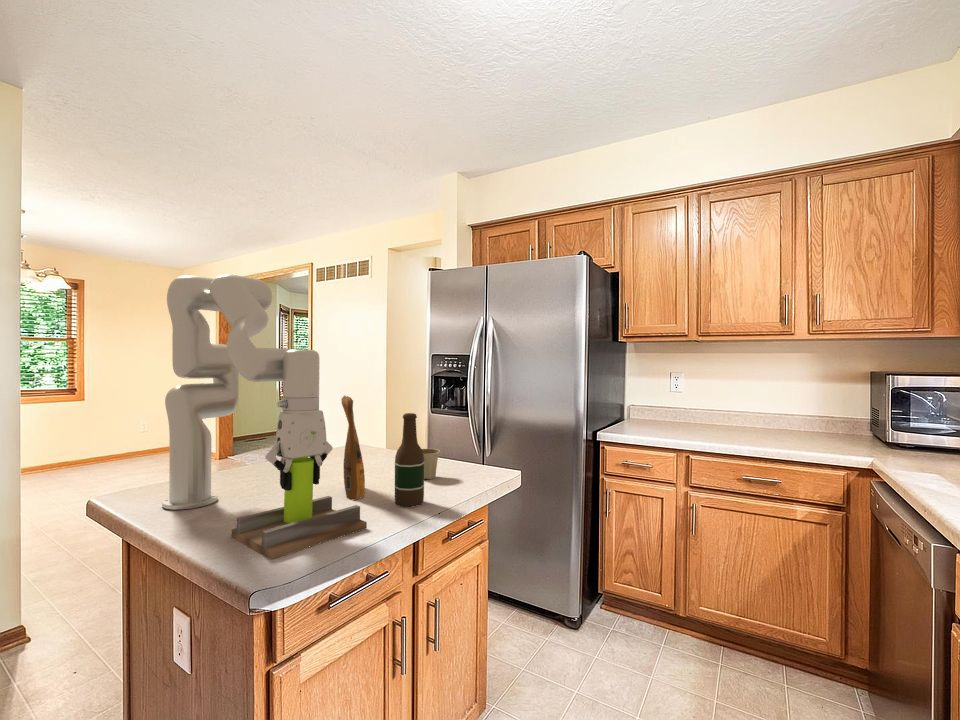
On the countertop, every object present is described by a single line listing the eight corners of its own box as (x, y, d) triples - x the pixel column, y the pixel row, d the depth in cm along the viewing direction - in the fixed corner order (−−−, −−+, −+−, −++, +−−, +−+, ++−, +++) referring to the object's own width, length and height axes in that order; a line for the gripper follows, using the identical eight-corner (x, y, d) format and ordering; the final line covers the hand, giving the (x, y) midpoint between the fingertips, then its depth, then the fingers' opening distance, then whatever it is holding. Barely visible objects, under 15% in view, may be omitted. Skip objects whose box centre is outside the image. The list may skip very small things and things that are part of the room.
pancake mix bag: (339, 503, 126) (340, 398, 126) (340, 485, 144) (341, 393, 144) (365, 501, 127) (366, 398, 128) (363, 483, 146) (364, 393, 146)
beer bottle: (411, 509, 121) (411, 416, 121) (388, 504, 125) (388, 414, 125) (429, 502, 127) (430, 413, 127) (407, 497, 131) (408, 411, 131)
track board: (231, 536, 102) (231, 515, 102) (323, 511, 119) (323, 493, 119) (271, 559, 90) (271, 535, 90) (366, 528, 107) (366, 508, 107)
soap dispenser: (306, 525, 101) (309, 431, 101) (278, 522, 102) (280, 430, 102) (321, 516, 107) (323, 428, 107) (293, 514, 108) (296, 426, 108)
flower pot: (407, 480, 150) (407, 453, 150) (416, 473, 159) (416, 448, 159) (435, 481, 148) (436, 454, 148) (443, 474, 158) (443, 449, 158)
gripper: (271, 409, 95) (270, 498, 95) (344, 403, 109) (343, 481, 109) (254, 406, 100) (253, 491, 100) (326, 401, 113) (325, 476, 113)
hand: (300, 485), depth 104 cm, fingers closed on soap dispenser, 5 cm apart
